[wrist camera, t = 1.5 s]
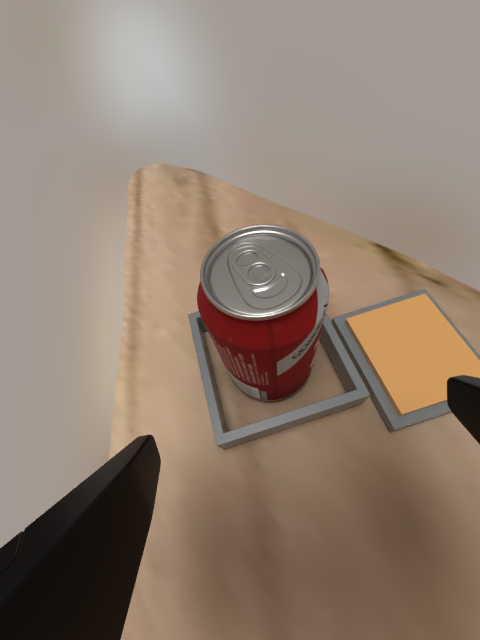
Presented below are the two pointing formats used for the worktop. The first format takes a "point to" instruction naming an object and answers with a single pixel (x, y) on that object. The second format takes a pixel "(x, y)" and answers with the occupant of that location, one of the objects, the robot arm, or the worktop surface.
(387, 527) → the worktop surface
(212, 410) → the case
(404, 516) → the worktop surface
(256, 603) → the worktop surface
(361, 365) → the lid
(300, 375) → the soda can
